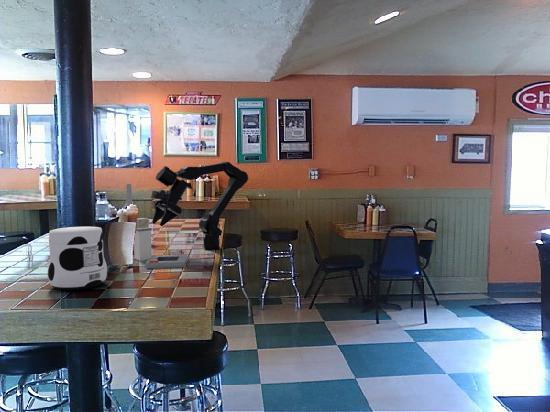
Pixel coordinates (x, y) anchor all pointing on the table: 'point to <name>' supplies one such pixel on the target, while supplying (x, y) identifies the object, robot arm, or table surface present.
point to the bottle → (128, 196)
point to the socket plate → (167, 261)
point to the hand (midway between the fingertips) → (156, 224)
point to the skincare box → (142, 222)
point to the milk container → (76, 258)
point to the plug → (142, 244)
